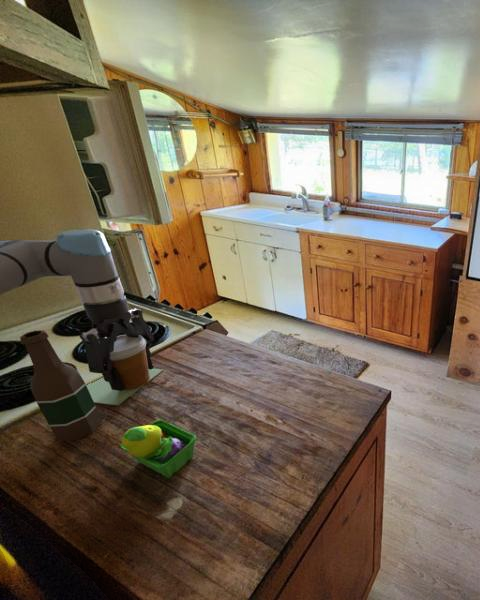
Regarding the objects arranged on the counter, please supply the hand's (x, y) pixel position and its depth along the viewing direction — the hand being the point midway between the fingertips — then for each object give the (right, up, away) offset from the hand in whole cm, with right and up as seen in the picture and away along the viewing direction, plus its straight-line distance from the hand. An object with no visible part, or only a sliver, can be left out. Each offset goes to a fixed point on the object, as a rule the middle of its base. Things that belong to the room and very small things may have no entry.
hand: (133, 378), depth 84 cm
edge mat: (-4, -1, 0) cm, 5 cm away
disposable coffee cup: (0, -1, +1) cm, 1 cm away
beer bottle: (-1, -8, -13) cm, 15 cm away
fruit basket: (+22, -12, -20) cm, 32 cm away
